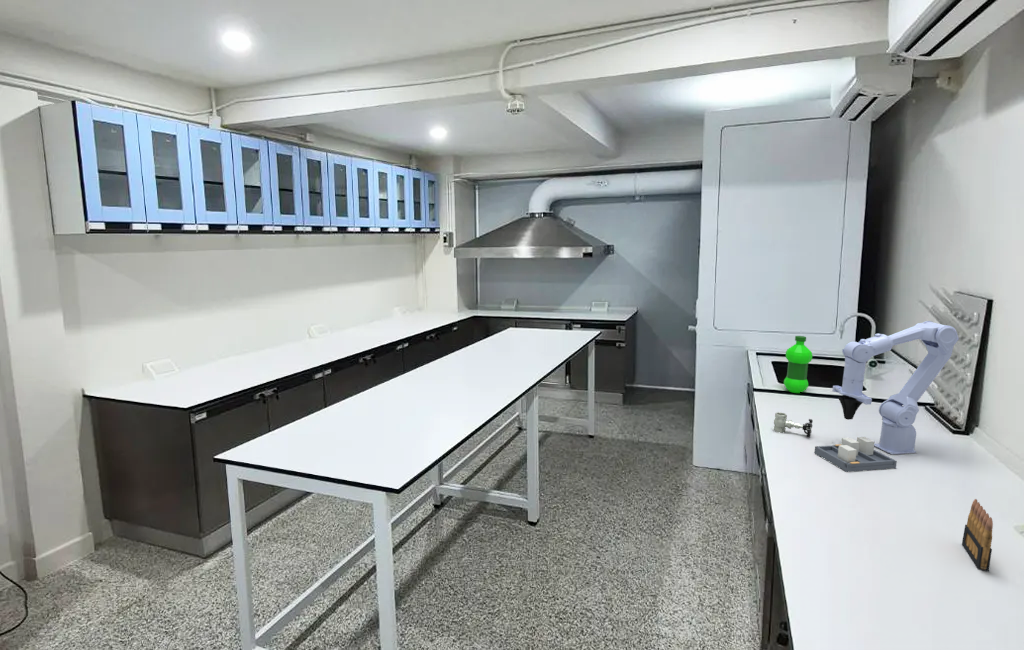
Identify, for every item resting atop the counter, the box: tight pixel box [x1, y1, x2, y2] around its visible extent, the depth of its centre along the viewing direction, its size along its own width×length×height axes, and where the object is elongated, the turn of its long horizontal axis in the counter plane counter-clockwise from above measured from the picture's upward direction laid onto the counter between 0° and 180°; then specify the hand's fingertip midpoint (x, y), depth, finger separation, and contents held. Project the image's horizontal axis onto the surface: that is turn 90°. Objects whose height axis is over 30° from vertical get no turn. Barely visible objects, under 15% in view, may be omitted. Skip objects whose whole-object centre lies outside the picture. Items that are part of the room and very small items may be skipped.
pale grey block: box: [856, 436, 876, 455], centre depth 178 cm, size 3×4×4 cm
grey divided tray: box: [813, 443, 898, 473], centre depth 175 cm, size 17×14×3 cm
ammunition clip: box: [961, 498, 994, 572], centre depth 123 cm, size 11×2×12 cm, turn 156°
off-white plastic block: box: [838, 445, 857, 463], centre depth 171 cm, size 3×4×4 cm
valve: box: [773, 411, 813, 438], centre depth 198 cm, size 7×7×12 cm
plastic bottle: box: [783, 335, 813, 394], centre depth 246 cm, size 10×10×25 cm
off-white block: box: [840, 437, 859, 456], centre depth 177 cm, size 3×4×4 cm
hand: (848, 418), depth 183 cm, fingers closed
